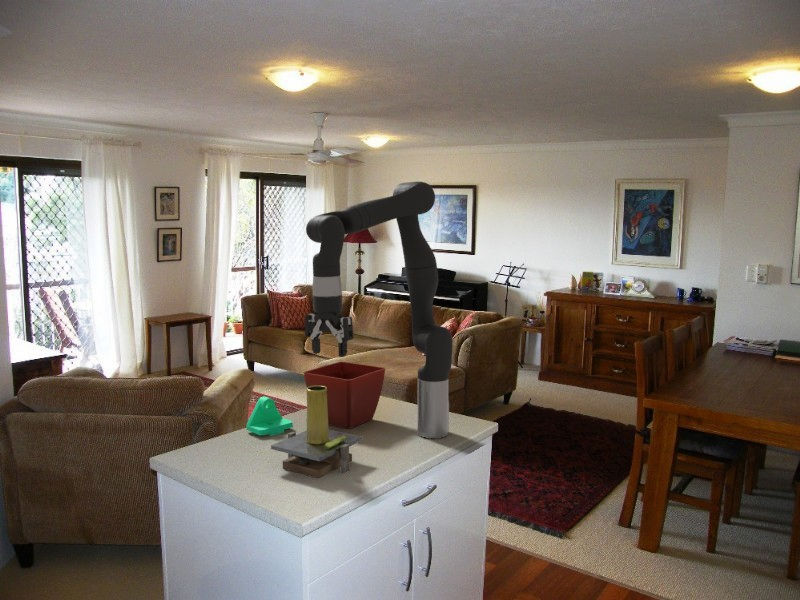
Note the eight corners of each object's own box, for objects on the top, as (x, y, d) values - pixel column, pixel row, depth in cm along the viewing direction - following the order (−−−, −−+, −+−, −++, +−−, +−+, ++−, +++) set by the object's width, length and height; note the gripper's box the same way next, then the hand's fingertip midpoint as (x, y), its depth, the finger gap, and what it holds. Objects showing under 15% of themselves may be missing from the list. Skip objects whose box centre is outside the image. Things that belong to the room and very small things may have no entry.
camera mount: (260, 439, 195) (259, 405, 194) (246, 433, 200) (245, 400, 199) (294, 430, 203) (293, 397, 202) (280, 424, 209) (279, 393, 207)
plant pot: (302, 423, 209) (301, 371, 207) (341, 409, 225) (341, 360, 223) (349, 434, 199) (349, 379, 197) (387, 418, 214) (386, 368, 212)
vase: (306, 437, 176) (305, 385, 174) (329, 436, 177) (328, 384, 175) (305, 445, 170) (304, 391, 168) (329, 444, 171) (328, 390, 169)
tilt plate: (316, 429, 185) (316, 421, 185) (362, 440, 177) (362, 431, 176) (271, 449, 170) (270, 439, 170) (319, 461, 162) (318, 451, 162)
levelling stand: (307, 450, 185) (307, 425, 184) (363, 463, 175) (362, 438, 174) (272, 465, 174) (271, 439, 173) (329, 481, 163) (329, 454, 162)
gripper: (358, 293, 170) (359, 354, 172) (315, 290, 177) (317, 349, 180) (340, 296, 163) (342, 360, 166) (296, 293, 171) (299, 354, 173)
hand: (329, 354), depth 173 cm, fingers open, 8 cm apart
